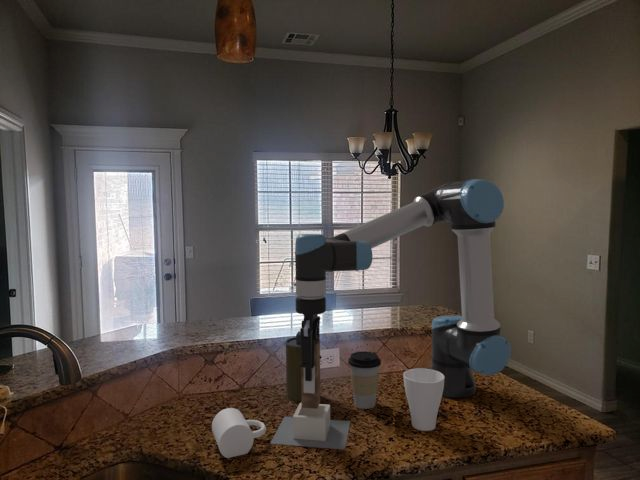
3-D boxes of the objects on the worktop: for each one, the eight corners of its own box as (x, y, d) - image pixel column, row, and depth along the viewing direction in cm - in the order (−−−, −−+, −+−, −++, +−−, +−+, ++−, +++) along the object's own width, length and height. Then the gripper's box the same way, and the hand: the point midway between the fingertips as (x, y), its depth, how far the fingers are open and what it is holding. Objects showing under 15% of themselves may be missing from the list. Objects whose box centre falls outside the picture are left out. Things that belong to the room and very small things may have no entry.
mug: (219, 463, 98) (218, 429, 97) (211, 442, 107) (211, 410, 106) (270, 451, 102) (270, 418, 102) (259, 432, 112) (258, 402, 111)
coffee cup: (365, 417, 119) (365, 363, 118) (341, 406, 126) (341, 355, 125) (387, 407, 125) (387, 355, 124) (363, 397, 132) (363, 348, 131)
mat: (350, 424, 115) (350, 421, 115) (344, 452, 101) (344, 449, 101) (284, 419, 118) (284, 416, 118) (270, 446, 104) (270, 443, 104)
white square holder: (330, 425, 113) (330, 404, 113) (325, 441, 105) (325, 418, 105) (300, 423, 114) (299, 402, 114) (293, 438, 106) (292, 416, 106)
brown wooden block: (320, 401, 111) (320, 340, 110) (317, 408, 107) (317, 344, 106) (304, 400, 112) (304, 339, 111) (301, 407, 108) (301, 343, 107)
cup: (394, 423, 115) (394, 373, 115) (422, 412, 121) (422, 365, 120) (424, 440, 107) (425, 386, 106) (453, 428, 112) (453, 377, 112)
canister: (316, 406, 126) (315, 338, 125) (281, 403, 128) (280, 336, 127) (323, 391, 137) (322, 328, 136) (291, 388, 139) (290, 327, 138)
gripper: (302, 290, 117) (303, 375, 118) (287, 302, 100) (288, 402, 101) (330, 290, 115) (330, 377, 117) (319, 303, 99) (320, 404, 100)
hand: (311, 388), depth 109 cm, fingers closed on brown wooden block, 4 cm apart
